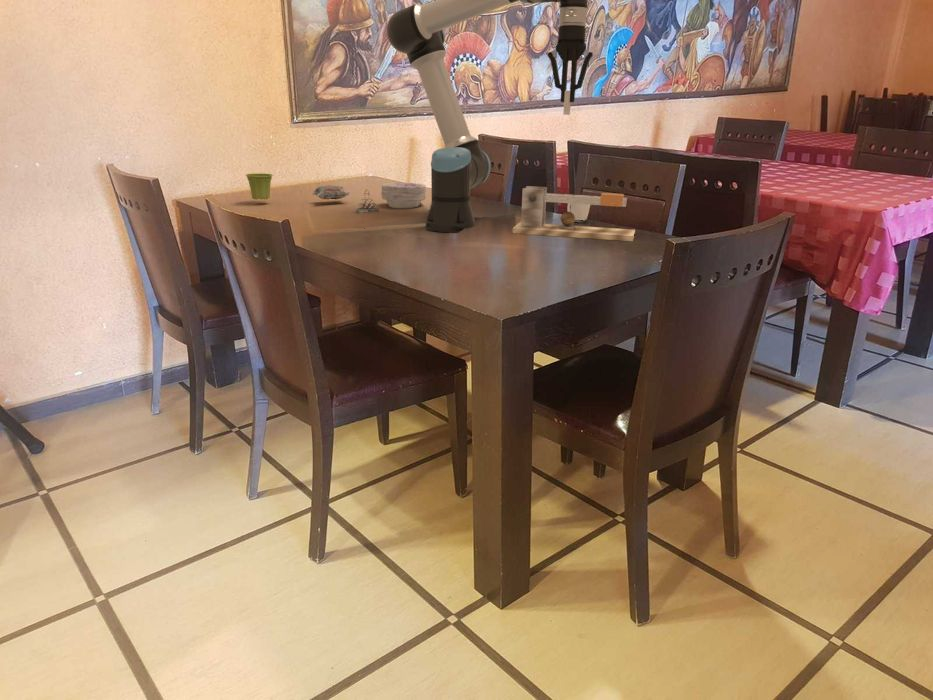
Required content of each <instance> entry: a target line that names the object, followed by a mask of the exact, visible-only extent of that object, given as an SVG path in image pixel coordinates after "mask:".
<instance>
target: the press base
mask: <svg viewBox="0 0 933 700" xmlns="http://www.w3.org/2000/svg"><path fill="white" fill-rule="evenodd" d="M547 191H548V187H547V186H531V185H530V186H529V185H527V186H525V188H524V187H523V188H522V195H521V196H522V197H521V216H520V217H521V219H520V222H518V223H516V225H514V226H513V227H512V234H519V235H532V236H534V235H535V236H549V237H563V238H565V237H566V238H578V239H580V238H581V239H590V240H591V239H592V240H593V239H594V240H605V241H606V240H608V241H622V242H634V239H635V236H634V234H636V229H630V228H629V229H628V228H614V227H612V228H611V227H598V226H597V227H595V226H583V225H581V226H580V225H575V223H574V220H575V217H574V214H573V213H571V211H570V212H568V211H565V212H563V213H562V214H561V216H560V221H561V223H560V224H554V223H553V224H551V223H546V213H547V202H543V200H544V193H548V192H547Z"/></svg>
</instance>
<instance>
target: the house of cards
mask: <svg viewBox="0 0 933 700" xmlns="http://www.w3.org/2000/svg"><path fill="white" fill-rule="evenodd" d="M366 192H368V193H367V195H370V192H369V190H368V189H367V188H366V189H365V191H364V193H363V195H366ZM363 200H365V201H363ZM361 202H362V203H361ZM367 202H368V203H367ZM355 210H356V213H358V214H361V213H376V212H380V211H379V210H380V208H379V207H378V205H377V204H376V203H375V201H374V200H373V198H370V202H369V198H361V199H360V201H359V202H358V203H357V205H356V207H355Z"/></svg>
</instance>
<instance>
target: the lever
mask: <svg viewBox="0 0 933 700" xmlns="http://www.w3.org/2000/svg"><path fill="white" fill-rule="evenodd" d="M627 201H628V198H627V197H625V193H614V192H613V193H611V192H602V193H601V194H600V196H599V195H586V196H585V195H584V194H566V193H551V192H550V193H549V192H547V193H544V200H543V202H546V203H561V204H568V203H574V204H590V206H603V207H604V206H607V207H619V208H620V207H621V208H623V207H624V208H625V207H626V206H627Z"/></svg>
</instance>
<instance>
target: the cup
mask: <svg viewBox="0 0 933 700" xmlns="http://www.w3.org/2000/svg"><path fill="white" fill-rule="evenodd" d="M585 196H587V195H585ZM590 208H591V205H590V204H574V203H567V209H566V210H567V212H571V213H573V214H574V217H575V220H583V221H586V220H587V219H588V217H589V212H590Z"/></svg>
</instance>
